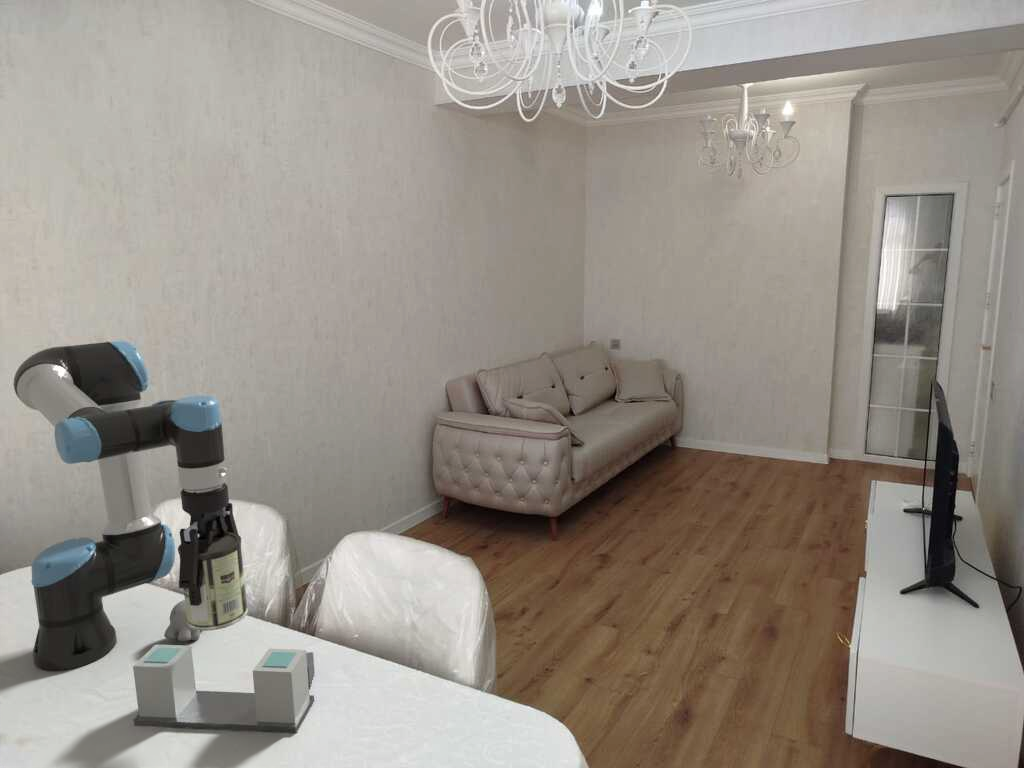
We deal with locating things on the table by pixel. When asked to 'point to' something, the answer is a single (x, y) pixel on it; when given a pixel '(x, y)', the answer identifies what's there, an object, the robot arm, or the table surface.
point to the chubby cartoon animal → (180, 625)
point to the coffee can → (221, 584)
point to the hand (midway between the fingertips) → (216, 604)
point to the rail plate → (223, 714)
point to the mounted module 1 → (164, 681)
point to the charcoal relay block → (310, 667)
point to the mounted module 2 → (281, 685)
